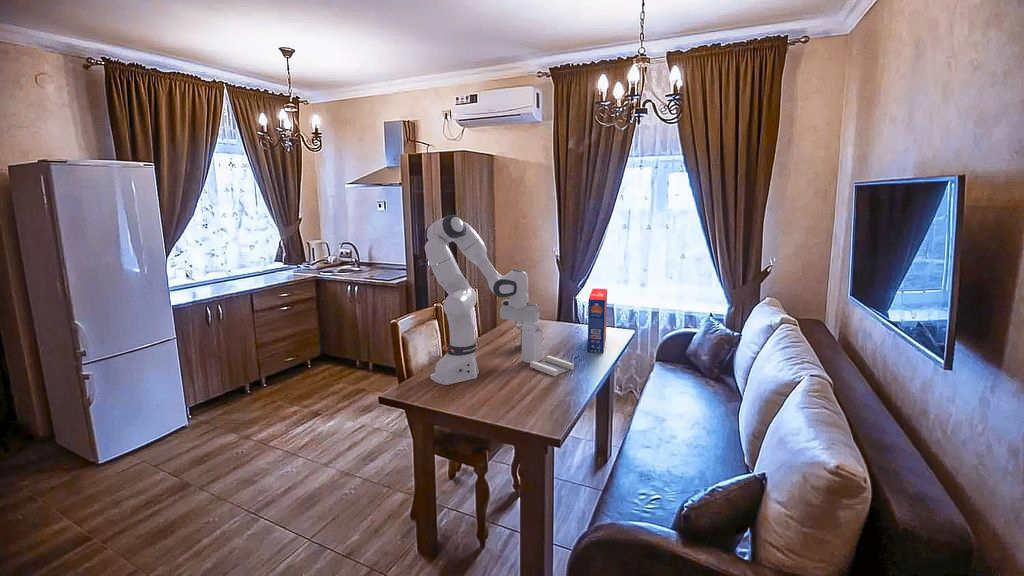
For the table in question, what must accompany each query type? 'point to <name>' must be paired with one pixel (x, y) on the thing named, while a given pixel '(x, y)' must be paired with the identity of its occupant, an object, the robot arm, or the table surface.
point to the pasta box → (597, 320)
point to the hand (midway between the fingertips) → (519, 329)
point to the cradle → (553, 366)
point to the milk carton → (531, 343)
